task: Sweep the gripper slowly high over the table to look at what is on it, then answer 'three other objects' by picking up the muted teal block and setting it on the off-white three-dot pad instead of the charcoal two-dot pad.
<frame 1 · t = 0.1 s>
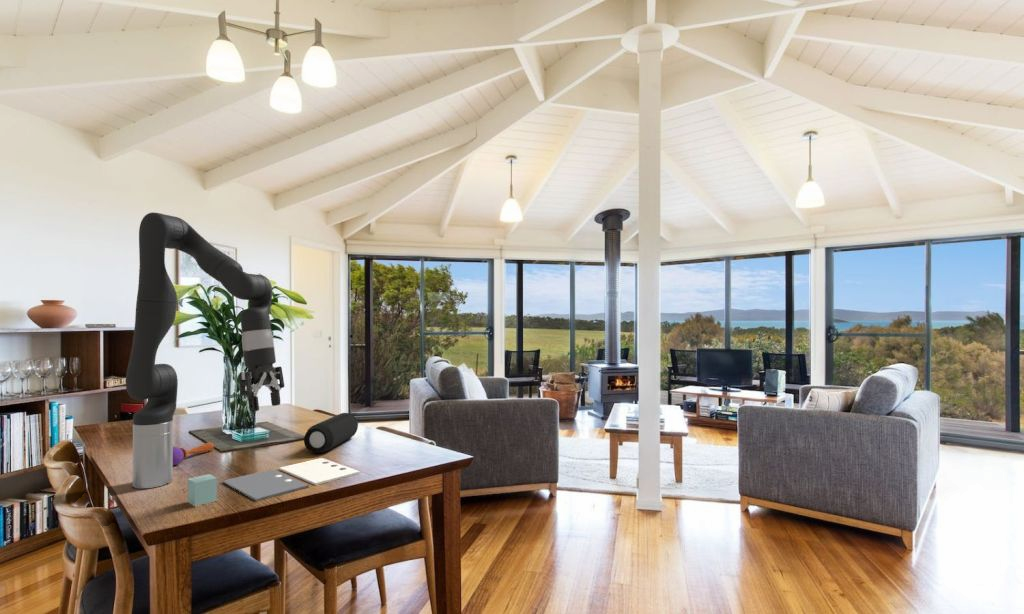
hand: (265, 408, 137), 22 cm above the table, tool pointing down, fingers open, 8 cm apart
portable speaker: (332, 446, 186), on the table
two dot pad: (265, 484, 143), on the table
three dot pad: (318, 471, 155), on the table
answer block: (202, 502, 130), on the table
kendama: (188, 460, 168), on the table
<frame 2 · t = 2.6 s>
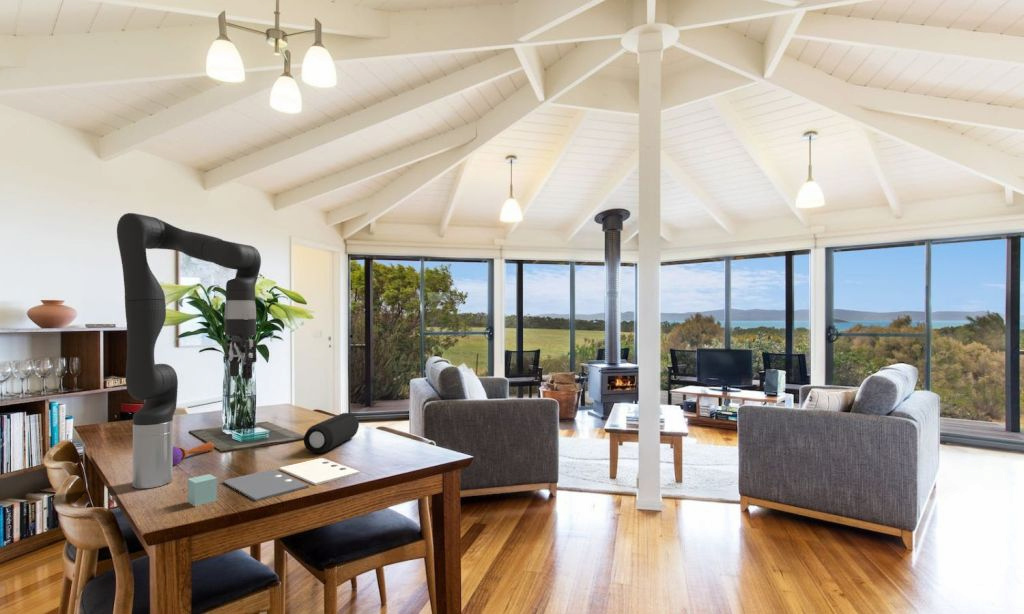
hand: (240, 377, 139), 30 cm above the table, tool pointing down, fingers open, 8 cm apart
nothing on the table moved.
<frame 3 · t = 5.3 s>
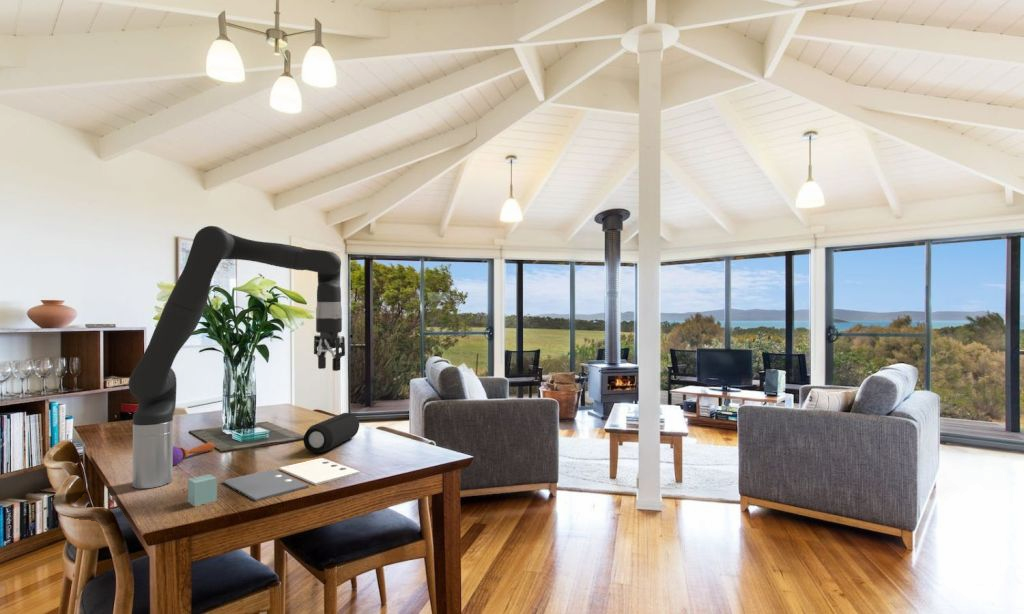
hand: (329, 369, 159), 30 cm above the table, tool pointing down, fingers open, 8 cm apart
nothing on the table moved.
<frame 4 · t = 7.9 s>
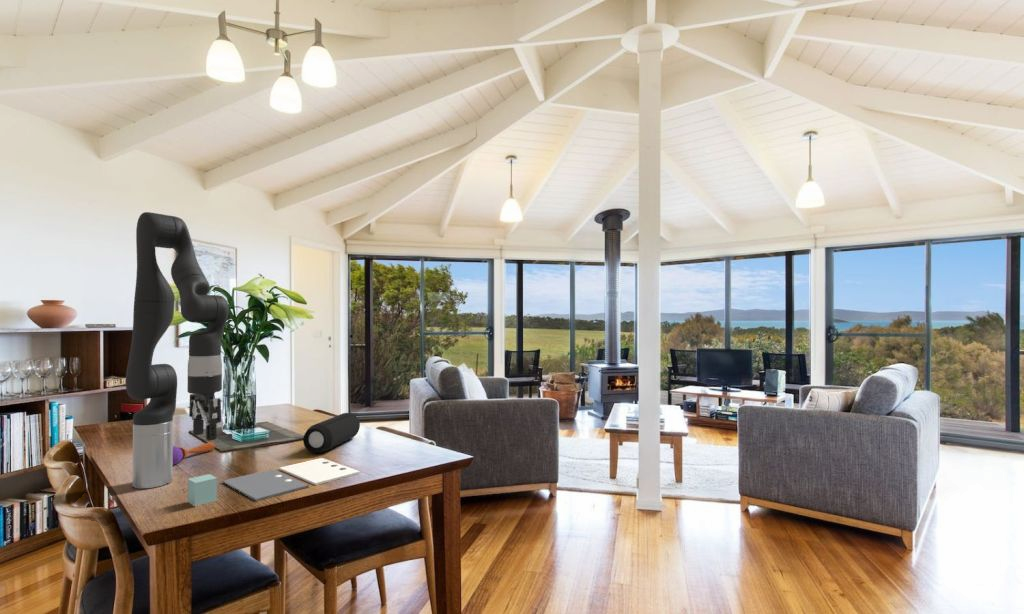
hand: (204, 437, 131), 16 cm above the table, tool pointing down, fingers open, 8 cm apart
nothing on the table moved.
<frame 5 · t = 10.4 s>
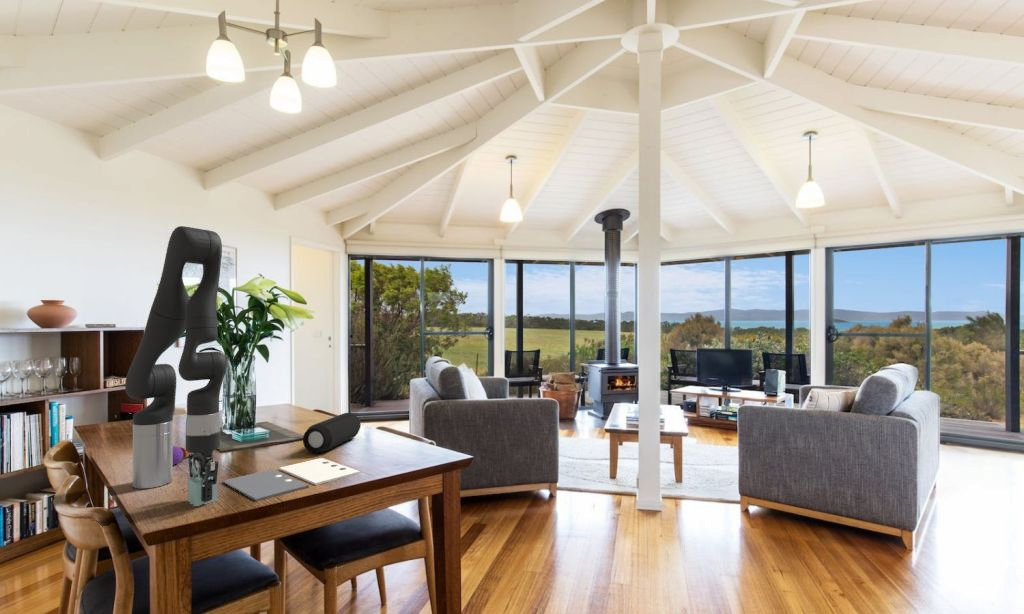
hand: (202, 498, 130), 1 cm above the table, tool pointing down, fingers closed on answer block, 5 cm apart
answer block: (202, 501, 130), on the table, touching gripper
everything else where it was.
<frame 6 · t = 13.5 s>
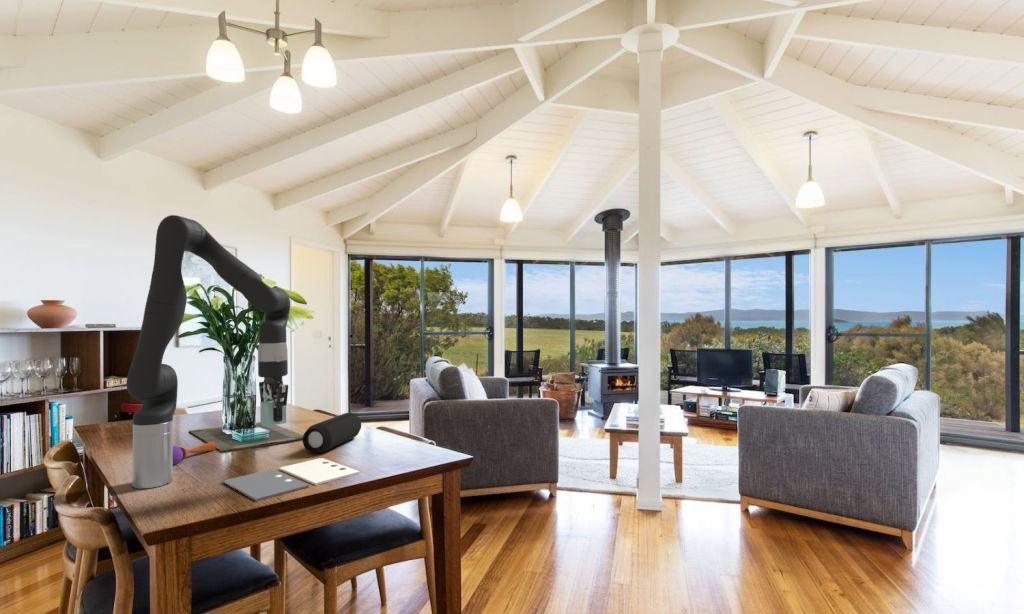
hand: (273, 419, 144), 18 cm above the table, tool pointing down, fingers closed on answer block, 5 cm apart
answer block: (273, 423, 144), point 17 cm above the table, touching gripper
when the fingers open (3 cm above the table, at t = 16.8 s): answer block drops 1 cm, resting on three dot pad.
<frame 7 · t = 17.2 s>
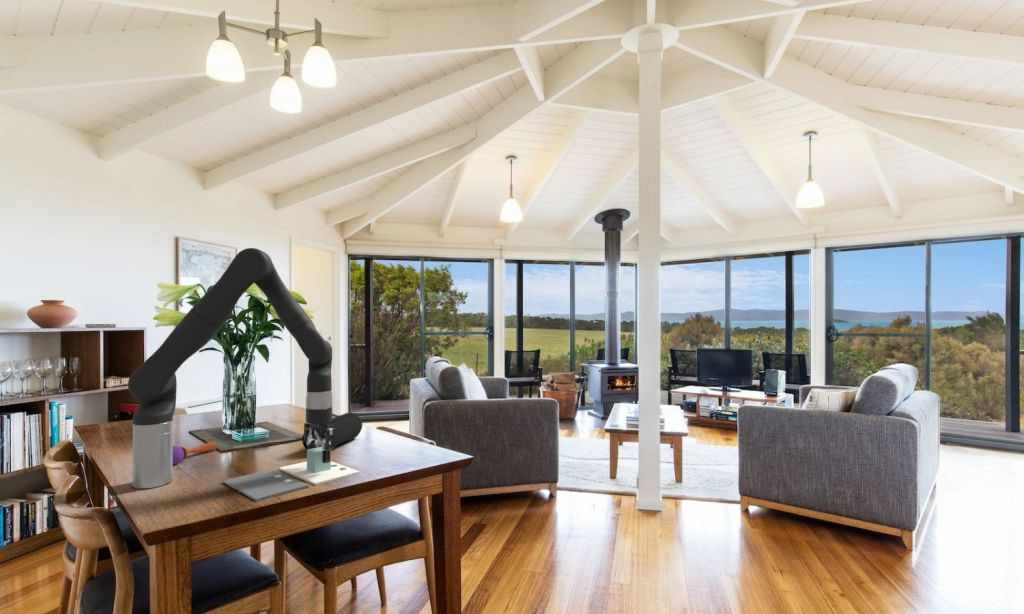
hand: (319, 459, 155), 3 cm above the table, tool pointing down, fingers open, 8 cm apart
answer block: (318, 469, 155), point 1 cm above the table, touching three dot pad
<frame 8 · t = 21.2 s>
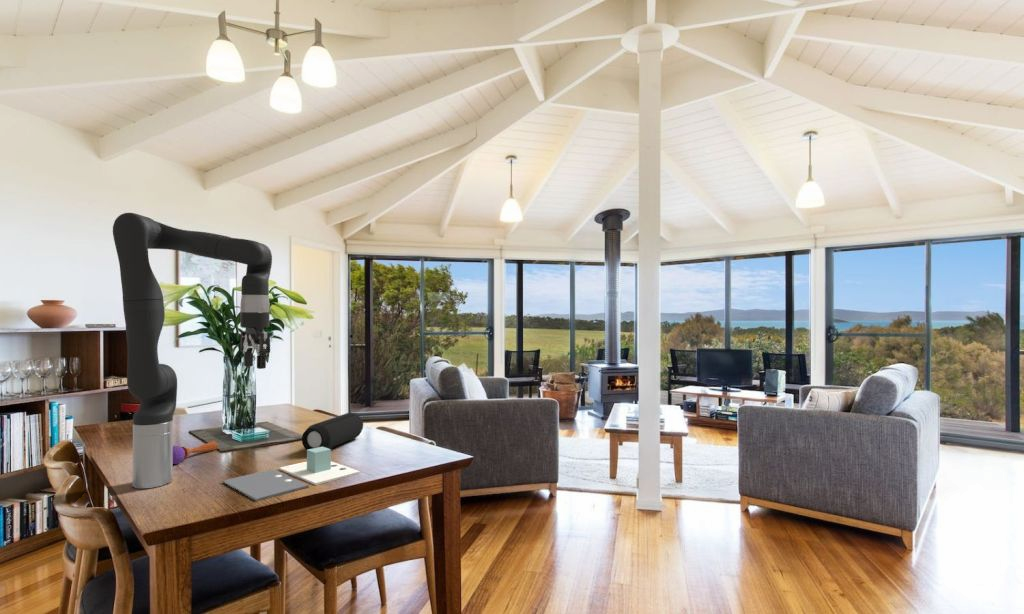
hand: (254, 367, 148), 32 cm above the table, tool pointing down, fingers open, 8 cm apart
at the end: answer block inside the target area on the three dot pad (0.0 cm from its centre), point 0.6 cm above the three dot pad's base; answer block tilted 0°; the gripper is holding nothing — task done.
